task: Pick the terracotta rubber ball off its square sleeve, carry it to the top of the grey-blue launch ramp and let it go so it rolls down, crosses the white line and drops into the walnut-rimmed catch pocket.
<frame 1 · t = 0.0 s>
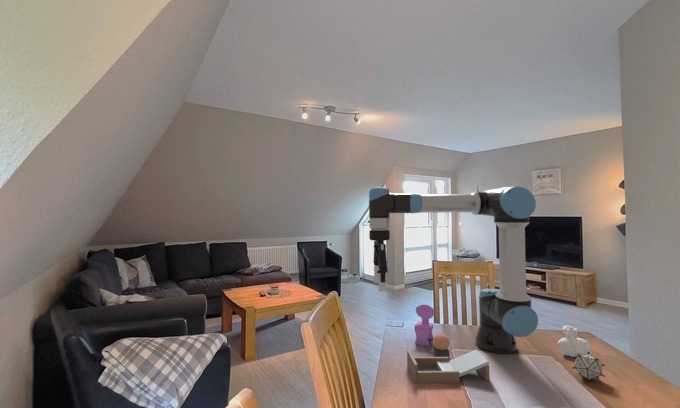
hand: (380, 286, 118), 28 cm above the table, fingers open, 13 cm apart
game die: (588, 379, 105), on the table
ramp with walled tray: (449, 374, 109), on the table
bust: (572, 354, 123), on the table
square sleeve: (441, 355, 123), on the table
ball: (441, 349, 123), point 2 cm above the table, touching square sleeve
toy chair: (424, 342, 136), on the table
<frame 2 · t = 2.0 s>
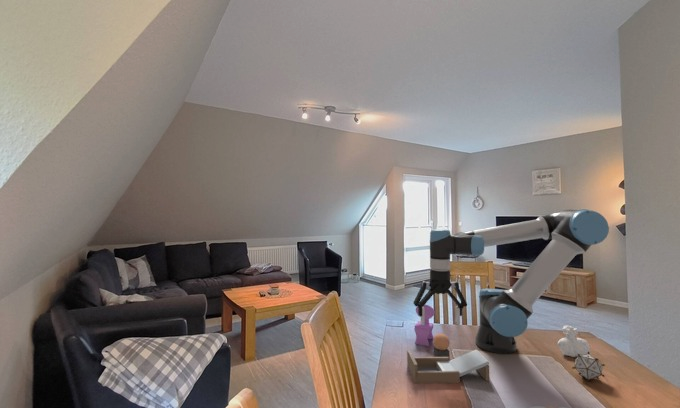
hand: (440, 324, 123), 12 cm above the table, fingers open, 13 cm apart
nothing on the table moved.
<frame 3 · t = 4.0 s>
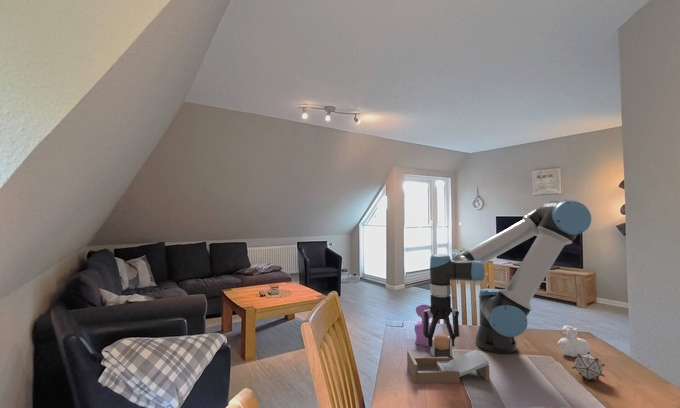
hand: (441, 354, 123), 0 cm above the table, fingers closed on ball, 6 cm apart
ball: (441, 349, 123), point 2 cm above the table, touching gripper, square sleeve
everything else where it was.
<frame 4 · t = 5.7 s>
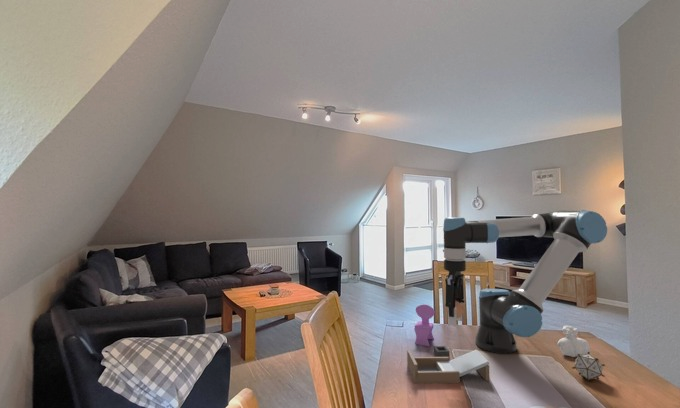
hand: (455, 322, 116), 15 cm above the table, fingers closed on ball, 6 cm apart
ball: (455, 317, 116), point 17 cm above the table, touching gripper
everything else where it was.
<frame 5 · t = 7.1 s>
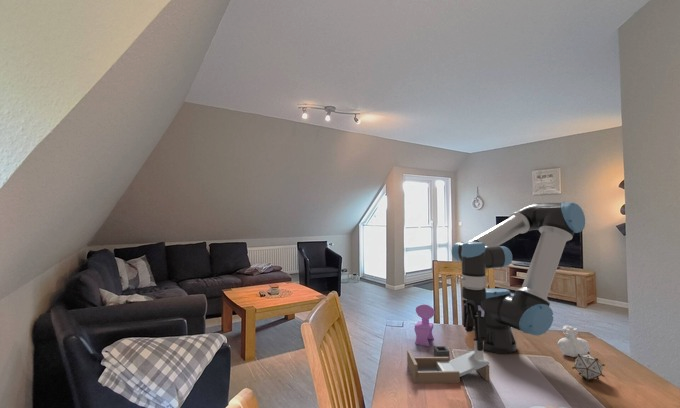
hand: (474, 354, 109), 7 cm above the table, fingers closed on ball, 6 cm apart
ball: (474, 349, 109), point 8 cm above the table, touching gripper
everything else where it was.
when the fingers open (6 cm above the table, at t = 7.7 s): ball drops 7 cm and tips over, resting on ramp with walled tray.
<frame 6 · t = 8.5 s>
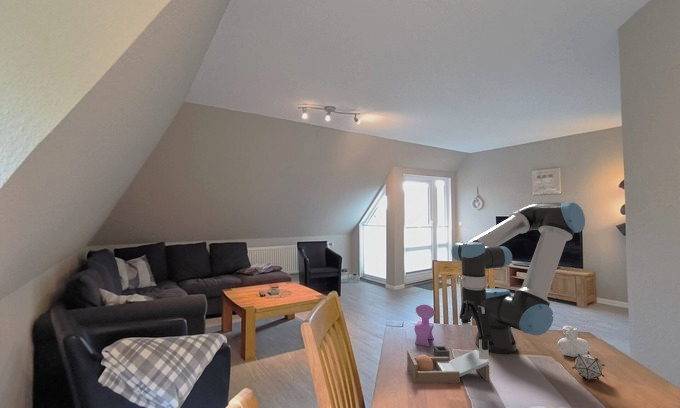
hand: (474, 349, 109), 8 cm above the table, fingers open, 13 cm apart
ball: (428, 371, 109), point 1 cm above the table, tilted 32°, touching ramp with walled tray
everything else where it was.
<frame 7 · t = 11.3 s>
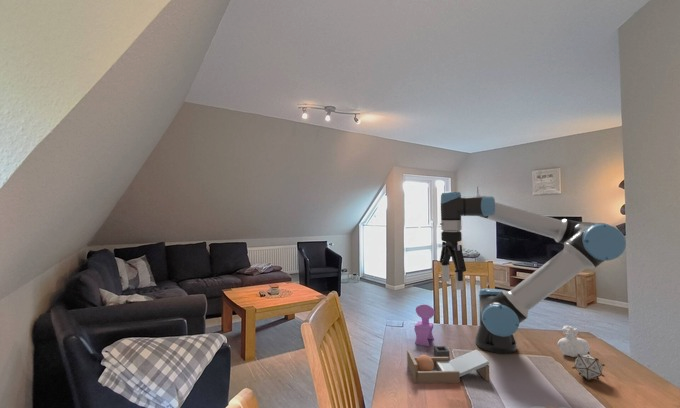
hand: (452, 285, 125), 27 cm above the table, fingers open, 13 cm apart
nothing on the table moved.
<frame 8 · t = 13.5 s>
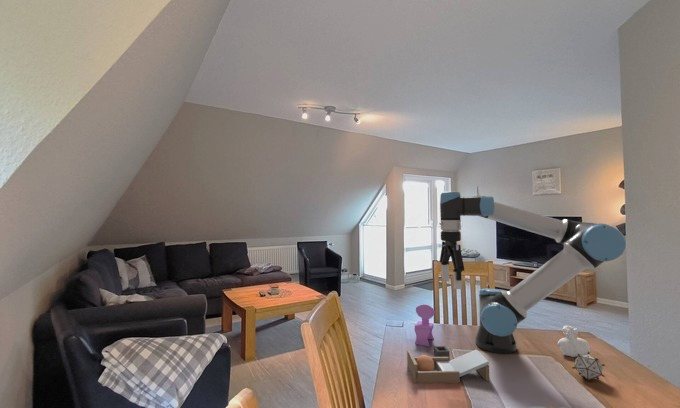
hand: (451, 284, 125), 27 cm above the table, fingers open, 13 cm apart
nothing on the table moved.
at the end: ball inside the target area on the ramp with walled tray (1.1 cm from its centre), point 0.7 cm above the ramp with walled tray's base; the gripper is holding nothing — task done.
